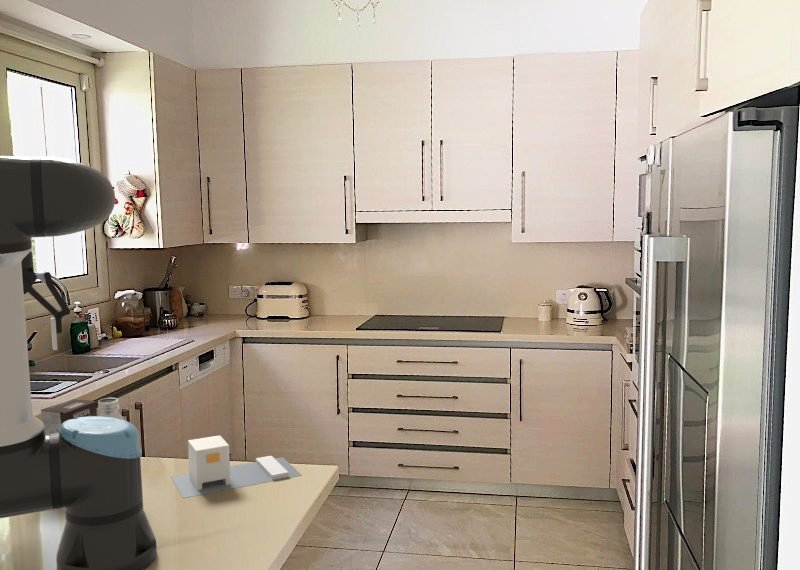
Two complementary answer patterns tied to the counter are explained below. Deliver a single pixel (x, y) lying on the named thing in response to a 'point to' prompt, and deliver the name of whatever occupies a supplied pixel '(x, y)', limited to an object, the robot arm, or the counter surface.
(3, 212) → the robot arm
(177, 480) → the panel
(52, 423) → the coffee box
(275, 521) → the counter surface
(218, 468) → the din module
